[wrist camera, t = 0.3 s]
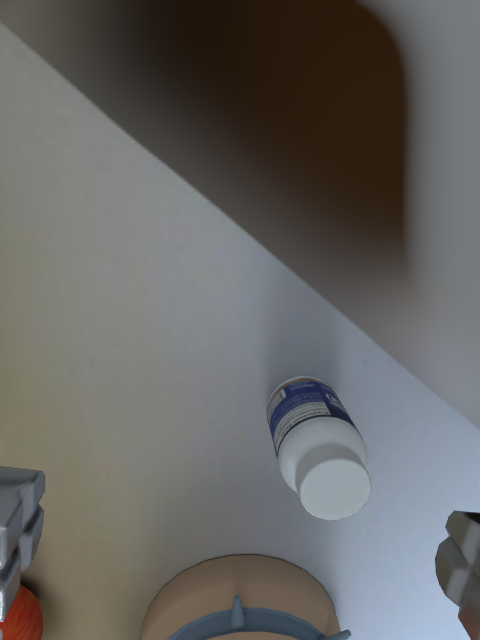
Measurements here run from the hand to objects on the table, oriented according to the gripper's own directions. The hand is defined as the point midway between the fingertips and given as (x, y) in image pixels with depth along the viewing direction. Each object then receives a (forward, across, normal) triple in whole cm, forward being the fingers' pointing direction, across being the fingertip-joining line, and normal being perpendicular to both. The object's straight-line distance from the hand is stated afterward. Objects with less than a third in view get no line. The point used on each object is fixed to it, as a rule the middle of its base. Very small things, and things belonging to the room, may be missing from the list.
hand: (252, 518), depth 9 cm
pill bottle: (+23, -7, +8) cm, 26 cm away
